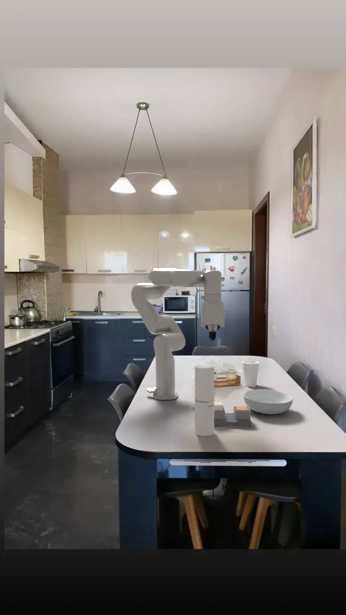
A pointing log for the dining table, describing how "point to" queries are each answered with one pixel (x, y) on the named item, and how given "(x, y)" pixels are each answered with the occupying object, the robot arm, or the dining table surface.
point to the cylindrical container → (204, 399)
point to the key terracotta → (241, 408)
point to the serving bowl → (268, 401)
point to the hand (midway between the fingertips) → (212, 340)
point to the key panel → (232, 418)
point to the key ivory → (218, 406)
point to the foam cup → (250, 372)
